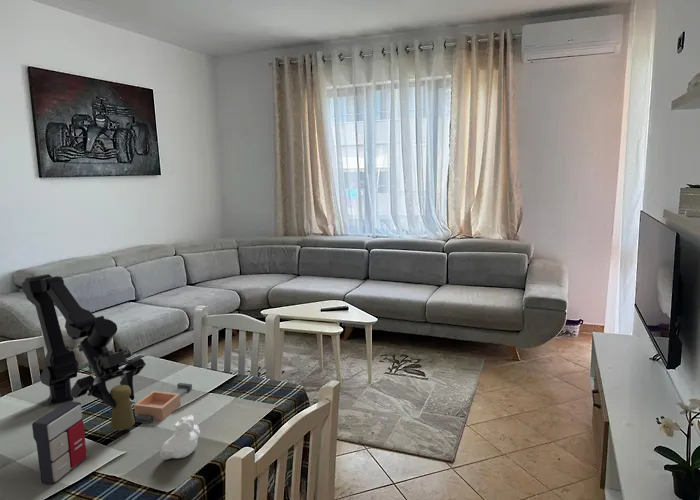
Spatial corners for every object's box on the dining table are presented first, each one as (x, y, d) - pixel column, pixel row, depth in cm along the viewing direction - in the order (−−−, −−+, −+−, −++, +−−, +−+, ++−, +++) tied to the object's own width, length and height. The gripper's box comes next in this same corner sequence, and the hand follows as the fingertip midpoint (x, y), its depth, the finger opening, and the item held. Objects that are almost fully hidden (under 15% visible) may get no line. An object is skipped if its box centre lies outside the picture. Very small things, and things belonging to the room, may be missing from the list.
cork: (115, 418, 136) (112, 382, 134) (138, 418, 137) (135, 381, 135) (107, 430, 130) (103, 392, 128) (130, 429, 131) (127, 391, 129)
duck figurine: (165, 474, 118) (184, 448, 114) (146, 450, 120) (164, 424, 116) (201, 449, 129) (219, 424, 124) (183, 427, 131) (201, 402, 126)
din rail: (136, 422, 138) (136, 416, 138) (179, 387, 159) (179, 382, 159) (150, 423, 137) (150, 417, 137) (192, 389, 158) (191, 384, 158)
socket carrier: (135, 416, 141) (134, 404, 141) (154, 402, 150) (153, 390, 149) (162, 420, 139) (162, 408, 139) (180, 405, 148) (179, 393, 147)
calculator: (54, 485, 111) (47, 425, 108) (38, 483, 112) (31, 423, 109) (89, 457, 121) (83, 401, 119) (74, 455, 122) (68, 400, 120)
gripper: (73, 351, 124) (100, 403, 120) (139, 330, 139) (166, 376, 135) (60, 372, 129) (86, 423, 125) (125, 350, 145) (150, 395, 141)
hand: (124, 403), depth 131 cm, fingers closed on cork, 5 cm apart
